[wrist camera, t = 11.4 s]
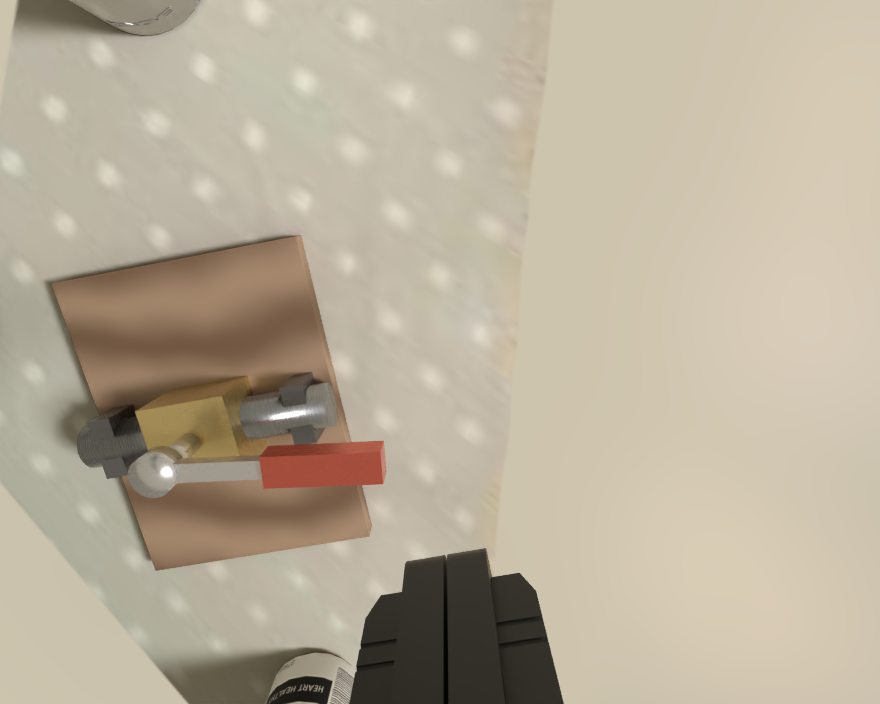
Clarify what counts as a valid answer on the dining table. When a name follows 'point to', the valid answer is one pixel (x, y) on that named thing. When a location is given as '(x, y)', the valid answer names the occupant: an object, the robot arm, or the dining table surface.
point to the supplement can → (313, 681)
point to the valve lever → (263, 467)
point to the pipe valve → (209, 422)
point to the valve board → (209, 360)
